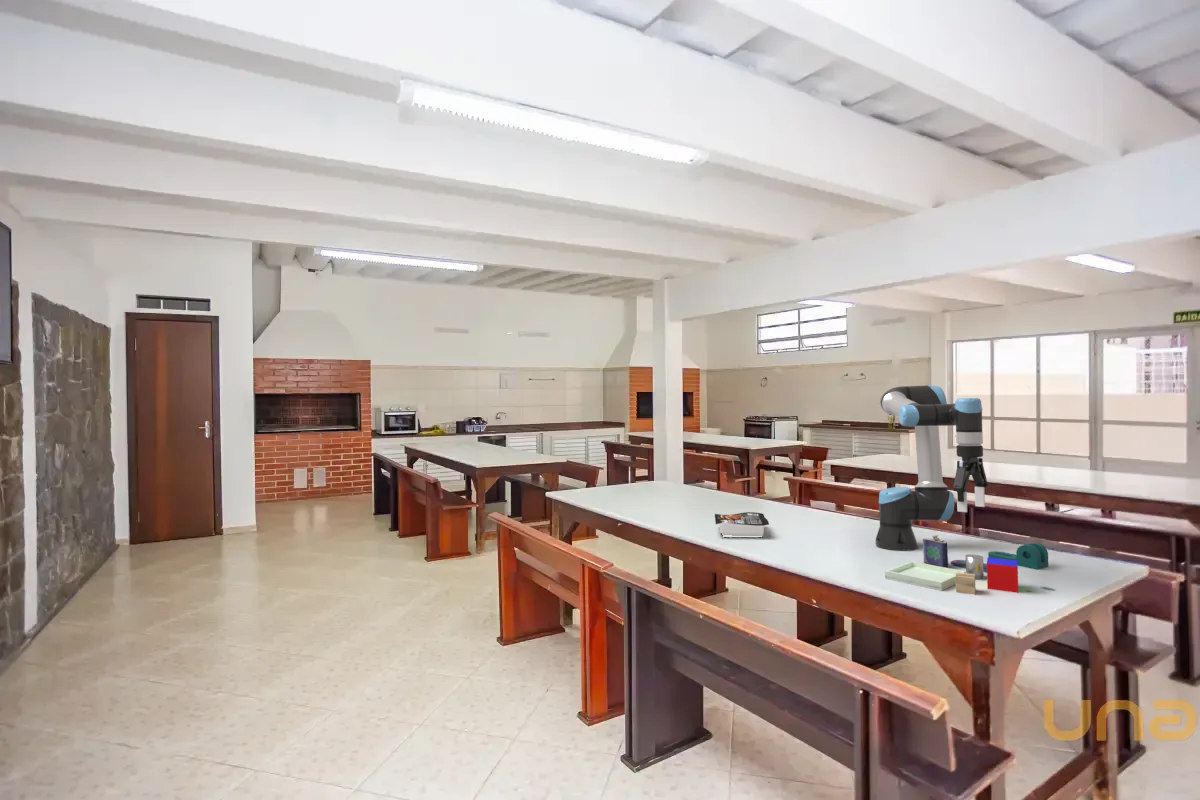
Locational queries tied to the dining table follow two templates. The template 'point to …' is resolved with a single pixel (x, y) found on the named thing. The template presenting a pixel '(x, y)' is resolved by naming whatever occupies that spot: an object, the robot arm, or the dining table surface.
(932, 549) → the flask
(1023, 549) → the bracket
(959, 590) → the oak block
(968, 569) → the grey canister
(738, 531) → the food packaging
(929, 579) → the tray
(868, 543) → the dining table surface
